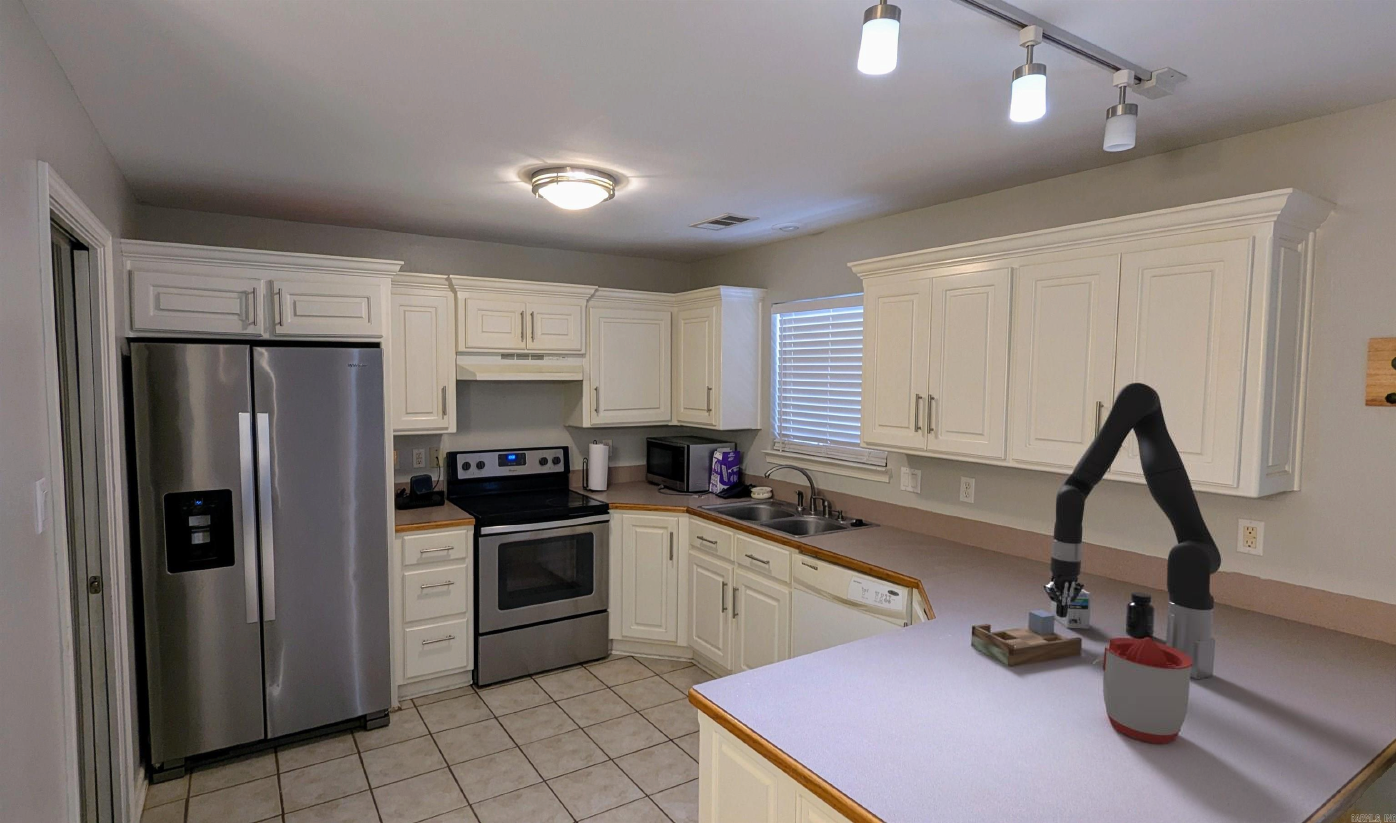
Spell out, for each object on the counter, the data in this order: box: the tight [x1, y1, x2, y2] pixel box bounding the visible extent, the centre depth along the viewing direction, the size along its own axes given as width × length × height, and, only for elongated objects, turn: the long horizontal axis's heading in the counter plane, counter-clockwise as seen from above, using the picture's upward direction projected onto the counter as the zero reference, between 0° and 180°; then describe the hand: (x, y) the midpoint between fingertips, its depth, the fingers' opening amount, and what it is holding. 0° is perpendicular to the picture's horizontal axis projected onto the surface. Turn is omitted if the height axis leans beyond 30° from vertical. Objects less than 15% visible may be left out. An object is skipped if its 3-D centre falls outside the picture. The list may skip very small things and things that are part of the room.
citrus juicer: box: [1092, 637, 1193, 745], centre depth 146 cm, size 16×17×20 cm
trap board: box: [970, 623, 1083, 667], centre depth 187 cm, size 14×24×6 cm, turn 111°
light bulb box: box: [1050, 588, 1092, 629], centre depth 209 cm, size 11×7×11 cm, turn 179°
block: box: [1027, 609, 1056, 635], centre depth 194 cm, size 4×4×5 cm
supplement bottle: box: [1125, 591, 1156, 639], centre depth 200 cm, size 7×7×12 cm
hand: (1061, 616), depth 197 cm, fingers closed
